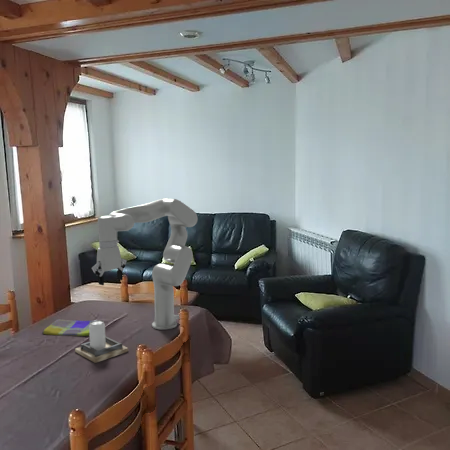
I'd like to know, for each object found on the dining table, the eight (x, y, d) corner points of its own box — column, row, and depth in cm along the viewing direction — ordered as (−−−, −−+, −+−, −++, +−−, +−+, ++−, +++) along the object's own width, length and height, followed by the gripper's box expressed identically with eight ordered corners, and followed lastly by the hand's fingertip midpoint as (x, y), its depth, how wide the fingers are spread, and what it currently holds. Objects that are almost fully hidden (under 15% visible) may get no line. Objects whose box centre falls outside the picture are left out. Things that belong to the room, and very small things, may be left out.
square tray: (107, 341, 205) (107, 334, 204) (128, 351, 194) (128, 343, 193) (75, 351, 193) (74, 344, 193) (95, 363, 182) (95, 354, 182)
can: (101, 353, 188) (100, 325, 187) (87, 351, 190) (86, 324, 188) (108, 347, 194) (107, 320, 193) (94, 345, 196) (93, 319, 194)
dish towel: (88, 338, 210) (87, 332, 209) (39, 335, 213) (39, 329, 213) (103, 325, 227) (103, 320, 226) (58, 322, 230) (58, 317, 230)
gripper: (119, 240, 204) (122, 276, 207) (85, 246, 191) (88, 285, 194) (129, 241, 199) (131, 279, 202) (95, 248, 186) (98, 288, 189)
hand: (110, 282), depth 198 cm, fingers open, 9 cm apart
